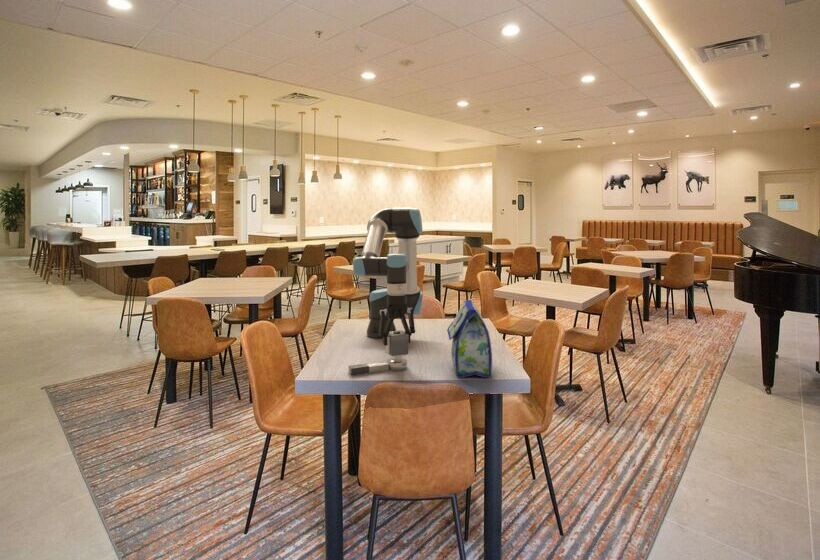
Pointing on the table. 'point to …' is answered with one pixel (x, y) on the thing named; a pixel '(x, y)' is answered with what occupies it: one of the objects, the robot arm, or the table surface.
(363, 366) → the chrome ball-end bar
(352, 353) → the table surface
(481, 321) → the lunch bag
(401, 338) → the grey square block
